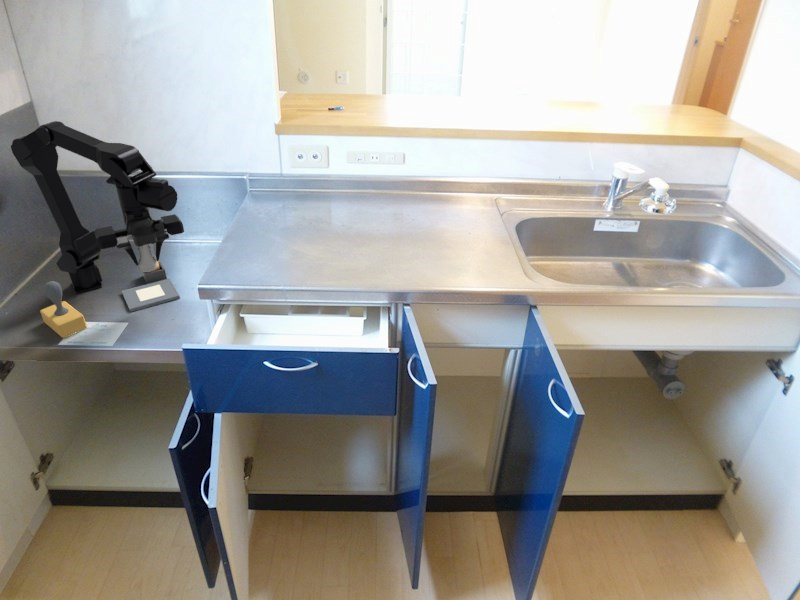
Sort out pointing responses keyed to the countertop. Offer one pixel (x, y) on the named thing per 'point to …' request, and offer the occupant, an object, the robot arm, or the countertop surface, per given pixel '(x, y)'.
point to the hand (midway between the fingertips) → (147, 262)
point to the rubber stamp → (61, 313)
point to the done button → (156, 268)
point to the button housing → (155, 275)
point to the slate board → (150, 294)
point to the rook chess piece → (146, 259)
